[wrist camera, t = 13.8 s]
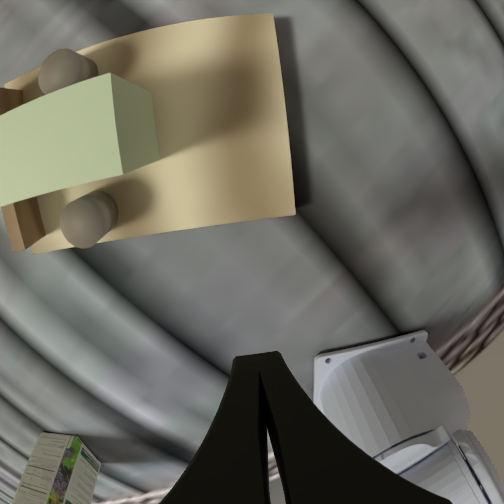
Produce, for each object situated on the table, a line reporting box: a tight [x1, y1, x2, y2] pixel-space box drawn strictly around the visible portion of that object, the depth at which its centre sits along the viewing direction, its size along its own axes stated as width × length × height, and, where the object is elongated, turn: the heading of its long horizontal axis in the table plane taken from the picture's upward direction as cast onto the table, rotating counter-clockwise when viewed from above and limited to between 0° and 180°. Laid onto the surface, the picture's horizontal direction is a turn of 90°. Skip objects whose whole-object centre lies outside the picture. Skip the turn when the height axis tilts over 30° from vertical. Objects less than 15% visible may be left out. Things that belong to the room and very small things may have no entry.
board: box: [0, 13, 296, 254], centre depth 14 cm, size 16×11×4 cm
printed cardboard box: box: [12, 432, 101, 504], centre depth 18 cm, size 6×6×14 cm
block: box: [0, 72, 161, 207], centre depth 11 cm, size 8×4×6 cm, turn 96°
